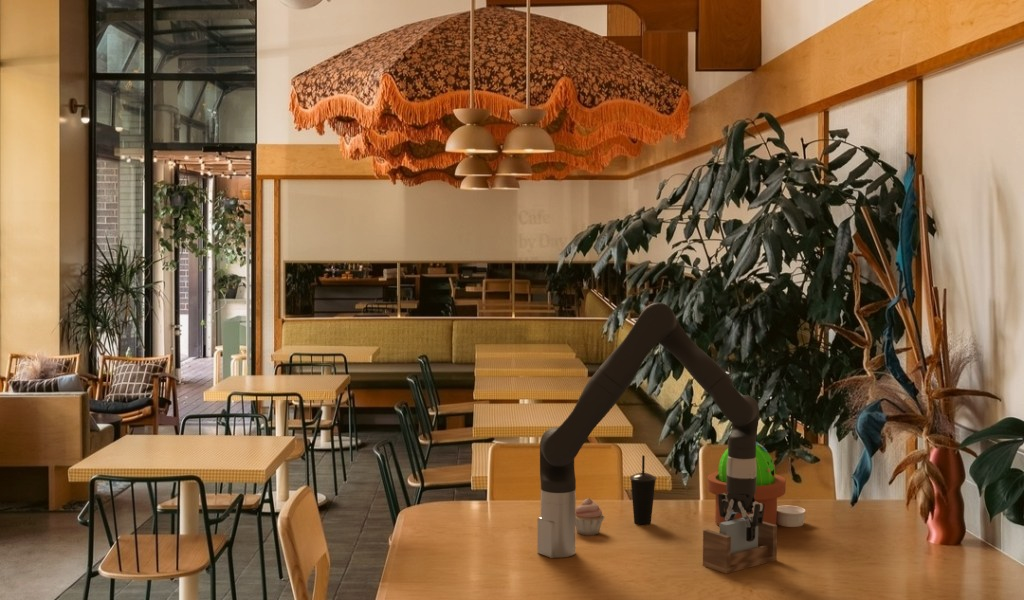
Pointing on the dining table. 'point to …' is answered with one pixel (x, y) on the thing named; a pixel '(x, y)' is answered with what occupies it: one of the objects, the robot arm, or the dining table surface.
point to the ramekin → (790, 516)
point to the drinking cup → (642, 496)
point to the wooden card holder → (724, 561)
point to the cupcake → (588, 518)
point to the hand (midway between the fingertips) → (740, 537)
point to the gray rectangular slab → (738, 535)
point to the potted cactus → (766, 485)
